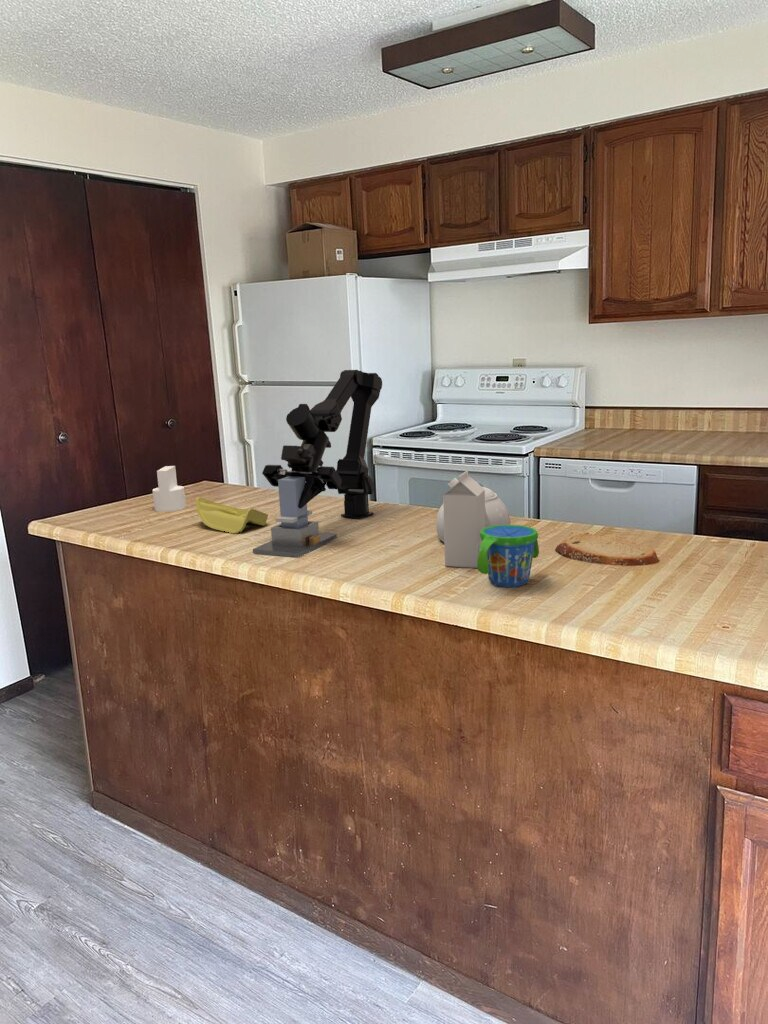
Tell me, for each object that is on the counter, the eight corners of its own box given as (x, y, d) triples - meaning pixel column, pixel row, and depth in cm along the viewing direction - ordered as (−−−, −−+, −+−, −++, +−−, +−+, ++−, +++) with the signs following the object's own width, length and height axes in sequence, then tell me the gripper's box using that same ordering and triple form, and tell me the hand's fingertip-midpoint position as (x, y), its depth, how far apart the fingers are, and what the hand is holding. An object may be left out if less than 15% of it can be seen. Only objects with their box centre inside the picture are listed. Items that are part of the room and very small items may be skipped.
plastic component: (272, 516, 203) (247, 506, 195) (264, 543, 203) (239, 535, 194) (218, 504, 214) (193, 494, 206) (210, 529, 213) (184, 521, 205)
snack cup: (518, 568, 156) (518, 519, 154) (558, 580, 148) (558, 528, 146) (459, 584, 148) (458, 532, 145) (498, 598, 139) (497, 543, 137)
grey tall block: (297, 528, 186) (293, 474, 183) (313, 529, 184) (309, 475, 181) (276, 537, 178) (272, 481, 175) (293, 538, 176) (289, 482, 173)
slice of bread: (665, 565, 155) (666, 547, 155) (578, 571, 154) (578, 553, 153) (628, 542, 173) (628, 526, 172) (549, 548, 171) (549, 531, 170)
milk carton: (486, 559, 164) (484, 470, 160) (478, 568, 157) (477, 476, 153) (453, 557, 166) (451, 469, 162) (444, 566, 160) (442, 475, 155)
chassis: (294, 534, 192) (292, 514, 191) (336, 537, 187) (335, 517, 186) (252, 553, 176) (251, 532, 175) (298, 557, 171) (297, 535, 170)
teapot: (529, 536, 181) (529, 478, 178) (482, 553, 168) (481, 492, 165) (465, 525, 194) (464, 471, 191) (417, 541, 181) (415, 483, 178)
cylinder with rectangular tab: (181, 511, 226) (177, 470, 223) (150, 512, 226) (146, 471, 223) (189, 504, 234) (185, 465, 232) (159, 505, 235) (155, 466, 232)
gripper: (263, 430, 183) (240, 485, 176) (332, 431, 175) (311, 489, 168) (283, 458, 192) (262, 512, 185) (350, 460, 184) (331, 516, 177)
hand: (290, 506), depth 178 cm, fingers closed on grey tall block, 4 cm apart
